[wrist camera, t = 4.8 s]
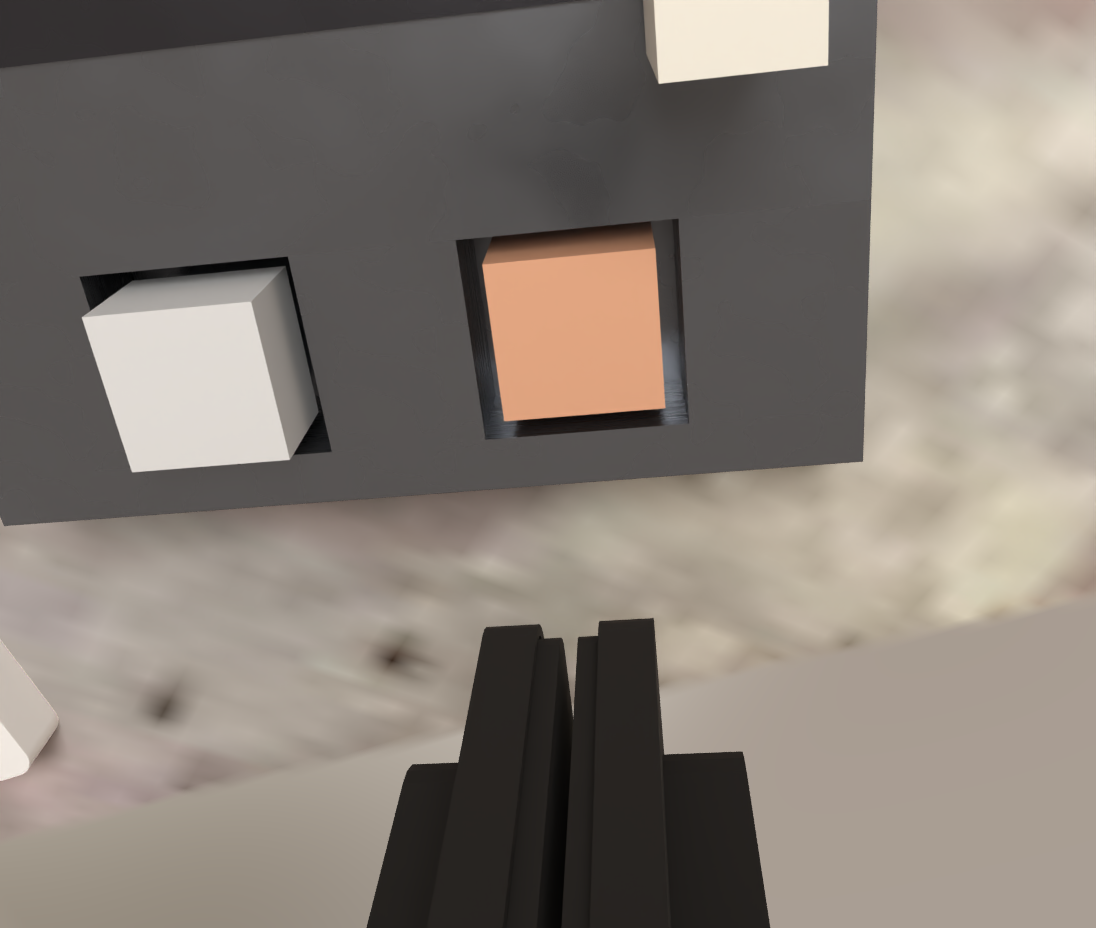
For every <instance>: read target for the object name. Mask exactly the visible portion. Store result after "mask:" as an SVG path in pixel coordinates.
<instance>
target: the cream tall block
mask: <svg viewBox="0 0 1096 928" xmlns="http://www.w3.org/2000/svg"><path fill="white" fill-rule="evenodd" d="M643 8H644V25H645V41H646V55H647V57H648V59H649V62H650V64H651V67H652V69H653V71H654V74H655V76H656V79H657V81H658V83H659V84H662V83H671V82H680V81H689V80H698V79H708V78H717V77H726V76H735V75H744V74H754V73H763V72H772V71H781V70H790V69H800V68H809V67H818V66H827V65H828V32H829V0H643Z"/></svg>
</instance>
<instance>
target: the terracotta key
mask: <svg viewBox="0 0 1096 928" xmlns="http://www.w3.org/2000/svg"><path fill="white" fill-rule="evenodd" d="M482 266H483V273H484V281H485V288H486V295H487V302H488V309H489V316H490V323H491V331H492V338H493V345H494V352H495V359H496V366H497V373H498V381H499V388H500V395H501V402H502V409H503V416H504V421H515V420H527V419H539V418H552V417H564V416H576V415H589V414H601V413H613V412H626V411H638V410H651V409H663V408H665V394H664V378H663V362H662V346H661V330H660V314H659V298H658V282H657V266H656V250H655V243H654V238H653V232H652V227H651V221H648V222H637V223H627V224H617V225H607V226H596V227H586V228H576V229H565V230H555V231H545V232H534V233H524V234H514V235H503V236H493V237H492V239H491V242H490V245H489V247H488V250H487V253H486V256H485V259H484V261H483V264H482Z"/></svg>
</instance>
